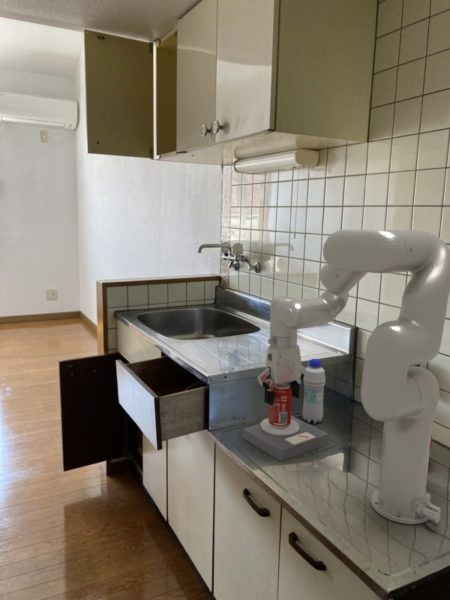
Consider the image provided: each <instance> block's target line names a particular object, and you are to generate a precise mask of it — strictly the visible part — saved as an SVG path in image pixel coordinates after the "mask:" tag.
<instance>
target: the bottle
mask: <svg viewBox="0 0 450 600" xmlns="http://www.w3.org/2000/svg"><path fill="white" fill-rule="evenodd" d="M321 364H322V362H321V360H320V359H318V358H311V359H310V360H309V366H308V367H306V371H305V373H304V377H303V384H304V385H303V386H304V390H303V391H304V393H303V406H302V417H303V420H304V422H307V423H308V424H311V422H312V421H313V422H312V423H313V424H317V423H321V422H322V419H323V417H324V391H325V390H324V389H325V385H326V373H325V371H326V370H325V369H324V368H323V367H321Z"/></svg>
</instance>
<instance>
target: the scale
mask: <svg viewBox="0 0 450 600" xmlns="http://www.w3.org/2000/svg"><path fill="white" fill-rule="evenodd" d="M242 429H243V432H242V439H243V440H245V441H247V442H248V443H250V444H251V445H253V446H255V447H256V448H258V449H260V450H261V451H262V452H264V453H266V454H268V455H269V454H270V455H269V456H271V457H273V458H274V457H275V458H274V459H276V460H278V461H279V460H280V462H283V461H285V459H286V460H289V459H291V458H294V457H296V456H299V455H302V454H305V453H307V452H311V451H314V450H315V449H318V448H321V447H324V446H327V445H329V442H330V441H329V440H330V433H328V432H326V431H324V430H322V429H320V428H318V427H316V426H313V425H312V424H311V423H308V422H306V421H303V420H301V419H299V418H297V417H295V416H293V415H291V423H290V425H288V427H287V428H284V429H278V428H274V427H272V426H271V424H270V423H269V417H267V418H264V419H263V420H261V422H260V423H258V424H254V425H251V426H247V427H243V428H242ZM288 458H289V459H288ZM282 460H283V461H282Z"/></svg>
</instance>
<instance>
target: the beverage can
mask: <svg viewBox="0 0 450 600" xmlns="http://www.w3.org/2000/svg"><path fill="white" fill-rule="evenodd" d="M272 391H274V404H273V405H270V404H268V418H269V423H270V424H271V426H272V427H274V428H278V429H284V428H287V427H288V425H290V423H291V416H292V403H293V401H292V400H293V399H292V397H293V396H292V390H291V388H290V384H289V383H283V384H275V386H274V388H273V389H272Z"/></svg>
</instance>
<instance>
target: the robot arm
mask: <svg viewBox="0 0 450 600" xmlns="http://www.w3.org/2000/svg"><path fill="white" fill-rule="evenodd" d="M322 256H323V259H324V261H325V264H324V265H323V266H322V268H321V269H320V271H319V280H320V283H321V284H322V286H323V287H324V289H325V290H324V292H323V293H322V294H321V295H320V296H318V297H317V298H316V297H314V298H313V297H312V298H303V299H297V298H296V297H293V296H287V295H286V296H285V295H284V296H282V295H281V296H275V297H273V298H272V299H271V301H270V311H269V312H270V315H269V316H270V317H269V318H270V319H269V326H270V327H269V339H268V340H267V343H268V344H269V345H268V348H267V351H266V357H265V358H266V359H265V367H264V368H265V370H263V371H262V372H261V373H260V374H258V375H257V379H258V382H259V385H260V387H262V390H264V399H263V401H264V403H266V404H268V405H269V404H270V405H273V404H274V391H272V389H273V388H274V386H275V384H283V383H287V384H289V383H290V384H289V385H290V388H291V390H292V397H293V398H295V399H299V398H300V385H301V384H302V380H304V374H305V371H306V368H307V367H306V366H305V365H302V356H301V348H300V345H299V344H298V330H300V329H308V328H313V327H321V326H325V325H327V324H329V323H330V322H332V321H333V320H335V318H336V317H337V316H338V315H339V314H340V313H342V312H343V310H344V309H345V308H346V306H347V304H348V300H349V296H350V293H349V292H350V291H351V290H352V289H353V288H354V287H355V286H356V285H357V284H358V283H359V282H360V281H361V280H362V279H363V278H364V277H365V276H366V275H367V274H368V273H369V274H370V273H371V274H395V273H410V274H411V277H410V279H409V281H408V282H407V284H406V286H405V288H404V290H403V294H402V298H401V305H400V309H399V310H400V311H399V313H398V314H399V315H398V317H397V319H396V320H395V319H394V320H389V321H385V322H383V323H380V324H379V325H377V326H376V327H375V328H374V329H373V330H372V332H371V333H370V335H369V336H368V339H367V342H366V345H365V351H364V352H365V354H364V360H363V369H362V375H361V384H360V399H361V404H362V407H363V409H364V411H365V412H366V413H367V415H368V417H371V418H372V419H373V420H375V421H378V422H382V423H383V424H384V425H383V430H382V441H381V452H380V453H381V454H380V455H381V456H380V467H379V469H380V470H379V482H378V483H379V484H378V488H377V489H375V490H374V491H373V492H372V493H371V495H370V504H371V507H372V509H373V510H374V511H375V512H377V514H378V515H381V516H382V517H383V518H386V519H387V520H390V521H392V522H395V523H398V524H404V525H418V524H419V525H420V524H423V523H425V522H426V523H427V521H429V520H430V521H432V522H434V523H436V524H438V523H439V522H440V521H441V516H442V515H441V513H442V508H441V507H439V506H437V505H434V504H433V503H432V502H431V494H430V493H427V481H428V473H429V472H428V471H429V458H430V451H431V449H430V442H431V436H432V431H433V424H434V421H435V420H434V419H435V417H436V411H437V408H438V406H439V400H440V386H439V383H438V382H439V381H438V380H437V378H436V377H435V375H434V374H433V373H432V372H431V371H430V370H428V369H427V368H425V367H422V366H419V365H422V364H425V363H426V364H427V363H429V362H431V361H433V360H434V359H435V358H436V357H437V356H438V355H439V352H440V350H441V344H442V342H443V341H442V339H443V333H444V327H445V321H446V315H447V309H448V302H449V298H450V297H449V296H450V248H449V246H448V245H447V243H446V242H445V241H444V240H443V239H442V238H440V237H439V236H437V235H436V234H435V233H431V232H428V231H424V230H415V229H411V230H410V229H387V230H386V229H377V230H375V229H374V230H367V229H338V230H336V231H335V232H332V233H331V234H330V235H329V236H328V237H327V238H326V240H325V242H324V244H323V247H322Z"/></svg>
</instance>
